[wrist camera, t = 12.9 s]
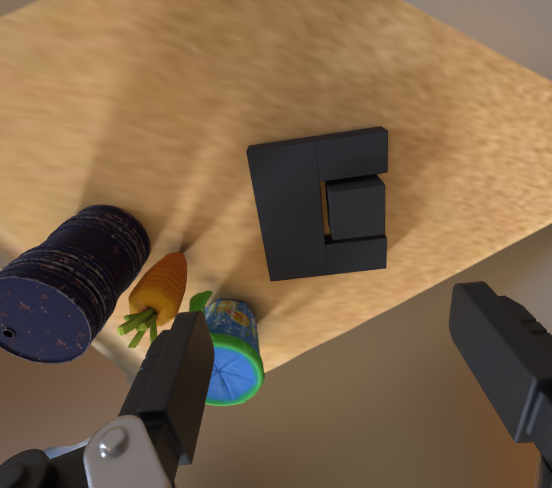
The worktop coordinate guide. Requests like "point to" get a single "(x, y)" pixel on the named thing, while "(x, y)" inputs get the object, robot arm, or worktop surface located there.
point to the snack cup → (231, 350)
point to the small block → (356, 206)
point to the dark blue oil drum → (70, 284)
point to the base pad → (313, 202)
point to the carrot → (156, 297)
